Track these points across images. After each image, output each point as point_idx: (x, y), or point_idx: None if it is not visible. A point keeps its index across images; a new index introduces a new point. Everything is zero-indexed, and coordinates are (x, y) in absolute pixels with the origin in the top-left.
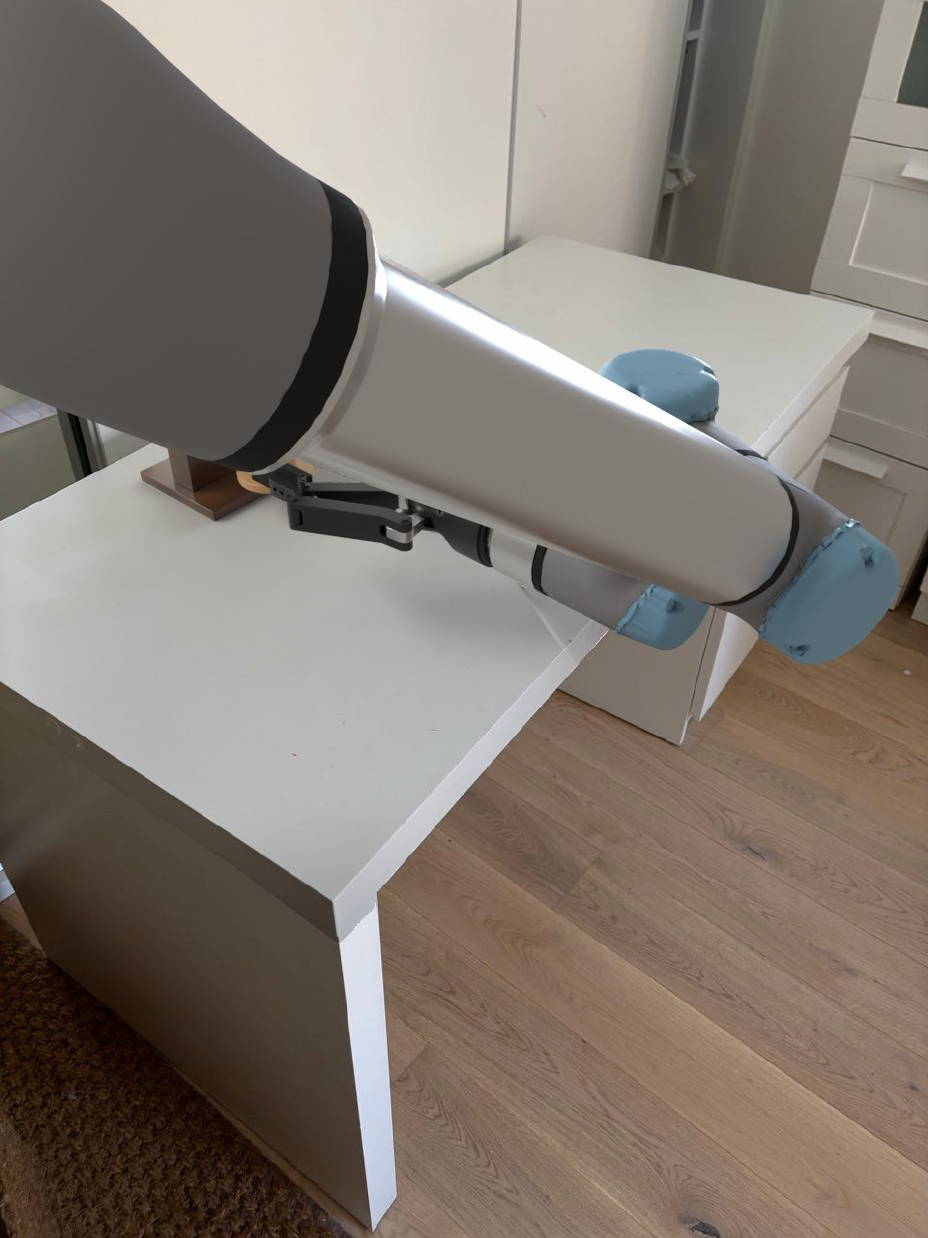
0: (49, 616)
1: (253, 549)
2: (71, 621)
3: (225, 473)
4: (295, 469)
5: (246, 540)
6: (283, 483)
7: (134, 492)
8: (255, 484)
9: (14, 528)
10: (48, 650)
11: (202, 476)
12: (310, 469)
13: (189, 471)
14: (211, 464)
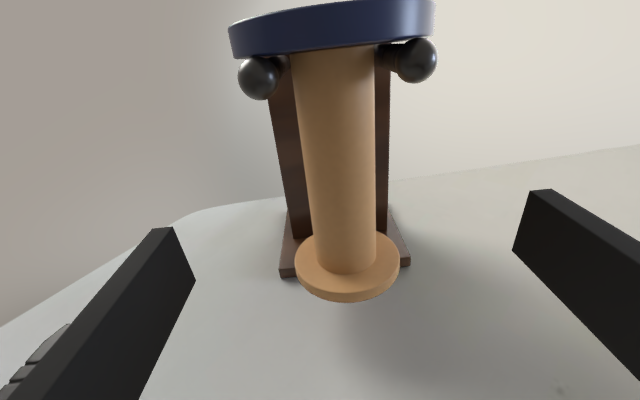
0: (72, 304)
1: (263, 347)
2: (64, 322)
3: None
4: (52, 365)
5: (273, 326)
6: (16, 385)
7: (273, 218)
8: (297, 268)
9: (191, 213)
10: (3, 347)
11: (304, 227)
12: (381, 282)
13: (289, 218)
14: None
